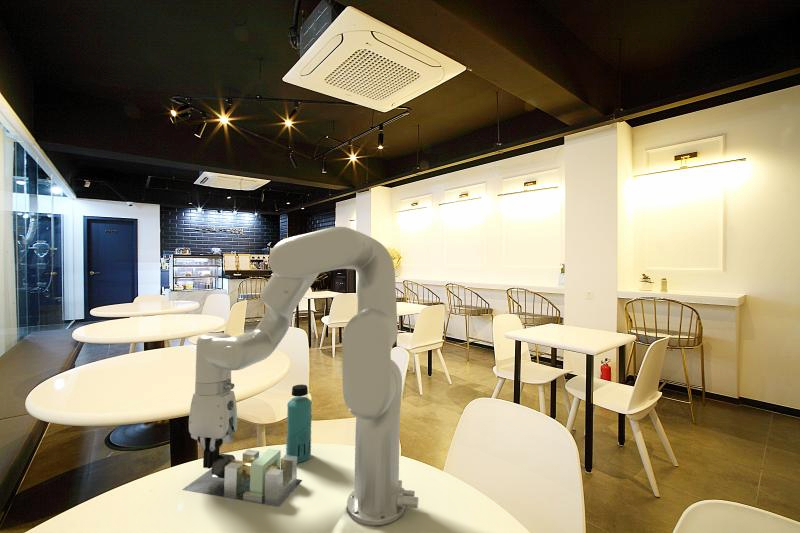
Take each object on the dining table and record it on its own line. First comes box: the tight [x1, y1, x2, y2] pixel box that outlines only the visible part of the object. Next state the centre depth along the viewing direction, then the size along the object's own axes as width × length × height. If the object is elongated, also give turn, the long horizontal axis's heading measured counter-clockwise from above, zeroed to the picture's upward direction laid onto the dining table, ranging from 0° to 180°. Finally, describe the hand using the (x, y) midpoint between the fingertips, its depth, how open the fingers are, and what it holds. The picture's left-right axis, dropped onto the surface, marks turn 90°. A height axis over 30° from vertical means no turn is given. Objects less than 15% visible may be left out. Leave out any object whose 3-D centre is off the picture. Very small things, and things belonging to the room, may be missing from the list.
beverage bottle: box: [285, 384, 313, 464], centre depth 94 cm, size 6×7×20 cm
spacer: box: [250, 448, 282, 496], centre depth 80 cm, size 3×7×7 cm, turn 167°
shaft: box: [210, 453, 281, 479], centre depth 81 cm, size 15×5×5 cm, turn 77°
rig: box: [182, 449, 303, 508], centre depth 81 cm, size 24×10×7 cm, turn 77°
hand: (211, 465), depth 83 cm, fingers closed
